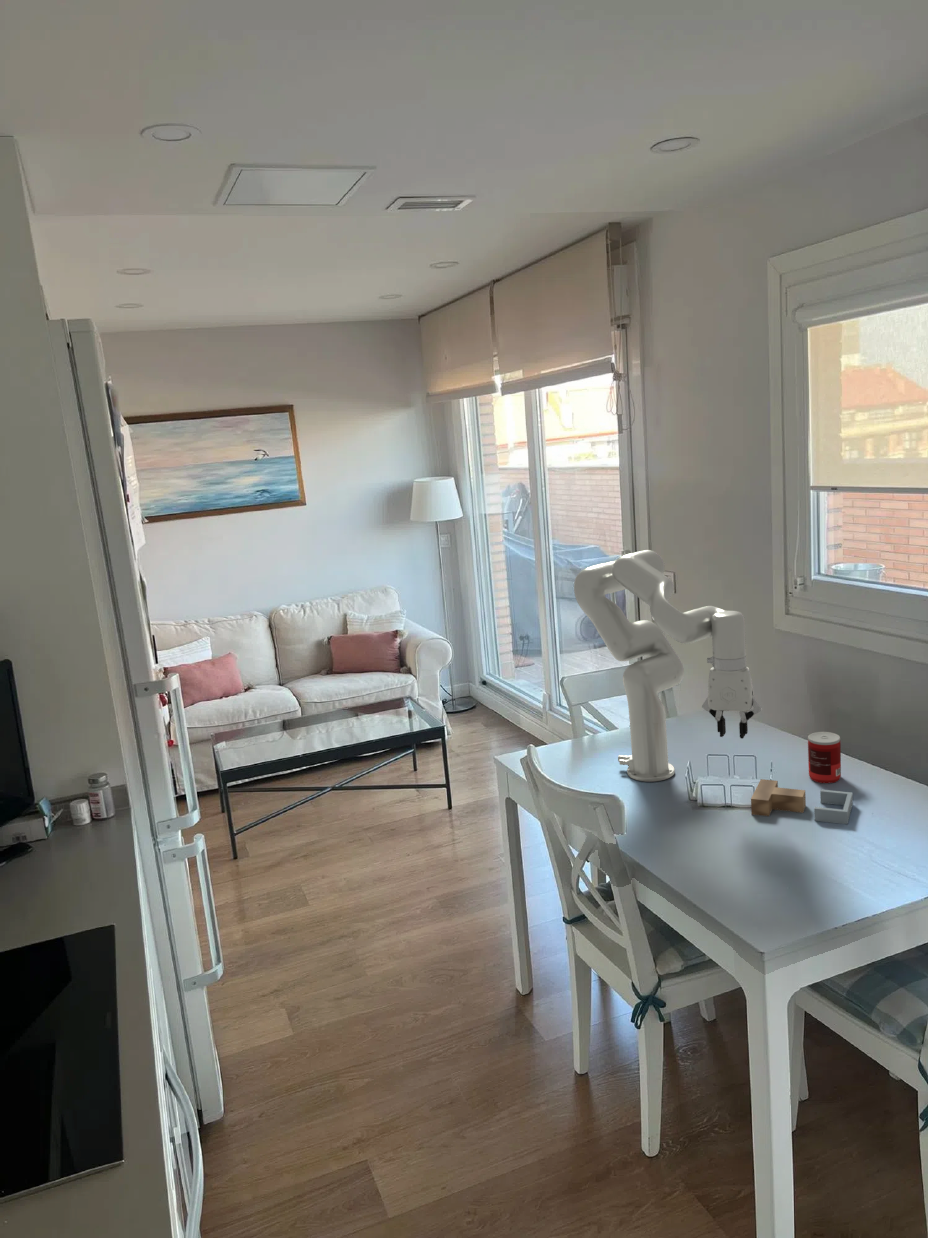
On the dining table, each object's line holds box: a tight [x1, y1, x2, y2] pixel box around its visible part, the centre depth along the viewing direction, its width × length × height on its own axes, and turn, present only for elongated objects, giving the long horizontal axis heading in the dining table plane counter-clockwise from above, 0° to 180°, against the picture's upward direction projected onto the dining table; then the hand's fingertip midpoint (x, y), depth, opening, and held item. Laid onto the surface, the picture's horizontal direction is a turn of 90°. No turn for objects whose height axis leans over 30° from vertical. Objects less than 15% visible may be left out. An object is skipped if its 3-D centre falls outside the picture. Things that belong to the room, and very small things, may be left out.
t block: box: [750, 778, 807, 817], centre depth 214 cm, size 11×12×4 cm
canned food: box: [807, 731, 842, 784], centre depth 227 cm, size 8×8×11 cm
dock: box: [813, 789, 854, 825], centre depth 209 cm, size 7×11×3 cm, turn 151°
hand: (732, 735), depth 216 cm, fingers open, 4 cm apart
